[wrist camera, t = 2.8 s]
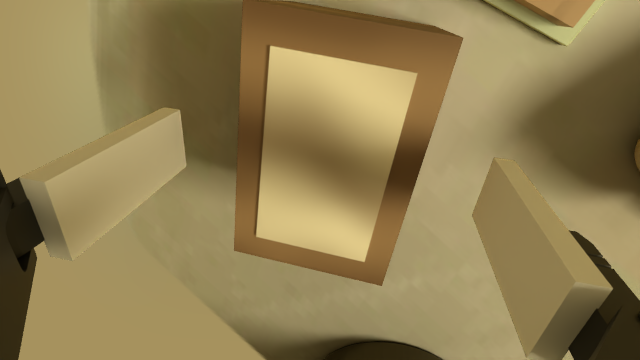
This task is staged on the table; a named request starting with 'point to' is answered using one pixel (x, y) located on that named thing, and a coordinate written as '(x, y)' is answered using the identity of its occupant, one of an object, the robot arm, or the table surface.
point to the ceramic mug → (637, 154)
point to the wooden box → (333, 132)
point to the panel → (551, 15)
